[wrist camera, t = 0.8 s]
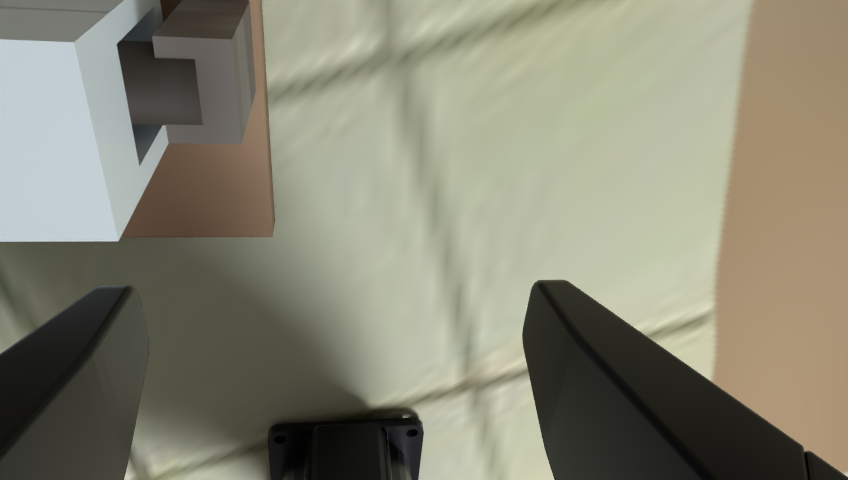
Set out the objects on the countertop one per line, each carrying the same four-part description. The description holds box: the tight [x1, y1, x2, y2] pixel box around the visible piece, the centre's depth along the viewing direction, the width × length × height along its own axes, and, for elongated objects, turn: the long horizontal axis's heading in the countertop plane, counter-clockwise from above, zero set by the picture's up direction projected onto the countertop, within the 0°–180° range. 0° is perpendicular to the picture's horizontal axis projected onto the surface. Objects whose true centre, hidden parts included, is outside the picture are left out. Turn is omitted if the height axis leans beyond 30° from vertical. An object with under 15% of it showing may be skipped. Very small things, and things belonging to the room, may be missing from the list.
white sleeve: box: [0, 0, 168, 242], centre depth 13 cm, size 4×4×6 cm
